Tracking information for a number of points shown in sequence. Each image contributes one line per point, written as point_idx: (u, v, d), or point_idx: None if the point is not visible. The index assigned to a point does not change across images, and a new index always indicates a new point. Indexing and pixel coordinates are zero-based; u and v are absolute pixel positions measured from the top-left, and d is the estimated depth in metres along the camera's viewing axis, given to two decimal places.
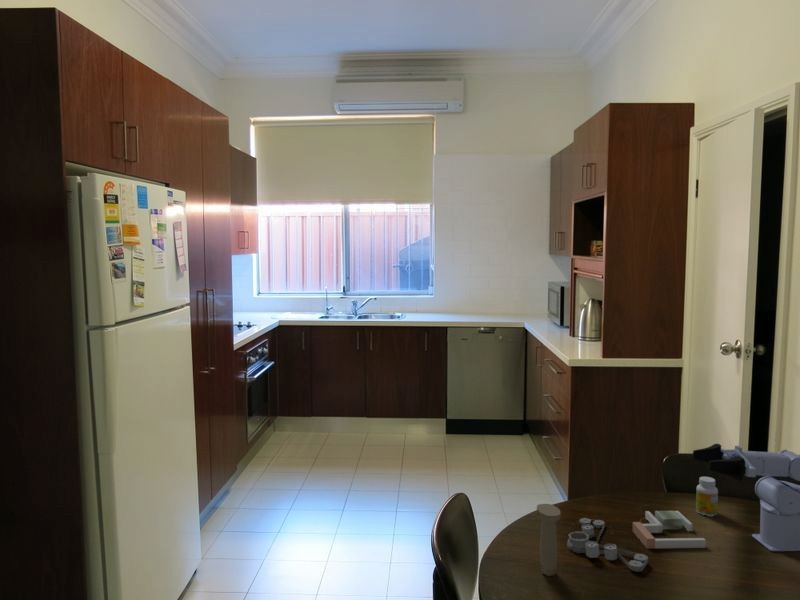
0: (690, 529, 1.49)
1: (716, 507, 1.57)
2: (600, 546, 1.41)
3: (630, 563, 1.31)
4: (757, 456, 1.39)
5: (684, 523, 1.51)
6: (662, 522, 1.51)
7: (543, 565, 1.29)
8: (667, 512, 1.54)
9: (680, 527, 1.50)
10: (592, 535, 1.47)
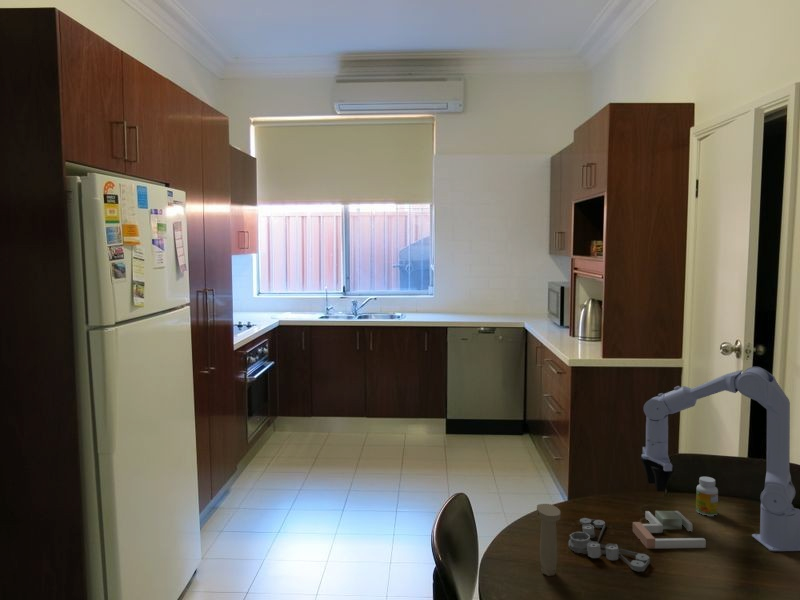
0: (690, 529, 1.49)
1: (716, 507, 1.57)
2: (601, 546, 1.41)
3: (632, 563, 1.31)
4: (651, 445, 1.57)
5: (684, 523, 1.51)
6: (662, 522, 1.51)
7: (543, 565, 1.29)
8: (667, 512, 1.54)
9: (680, 527, 1.50)
10: (593, 535, 1.47)
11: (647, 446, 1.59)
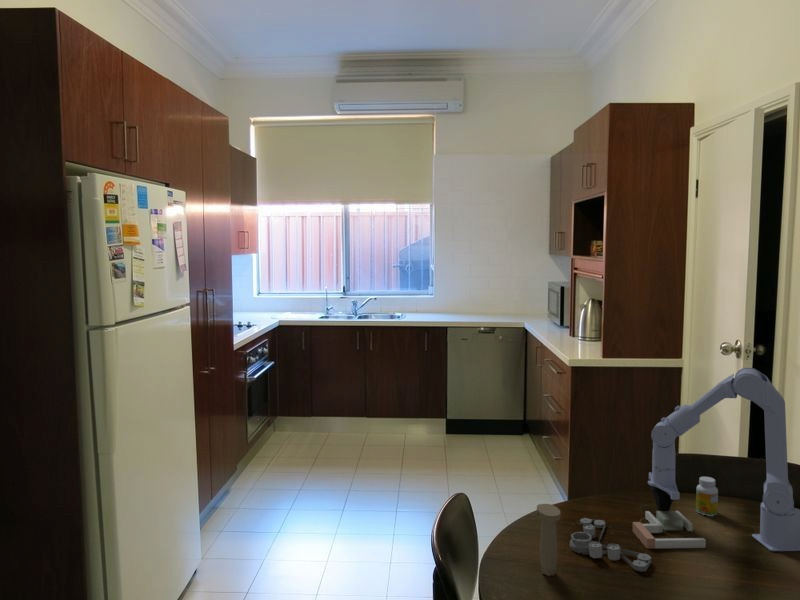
0: (690, 529, 1.49)
1: (716, 507, 1.57)
2: (602, 546, 1.41)
3: (634, 563, 1.31)
4: (658, 472, 1.53)
5: (684, 523, 1.51)
6: (663, 522, 1.50)
7: (543, 565, 1.29)
8: (668, 512, 1.54)
9: (681, 527, 1.50)
10: (594, 535, 1.46)
11: (654, 473, 1.55)
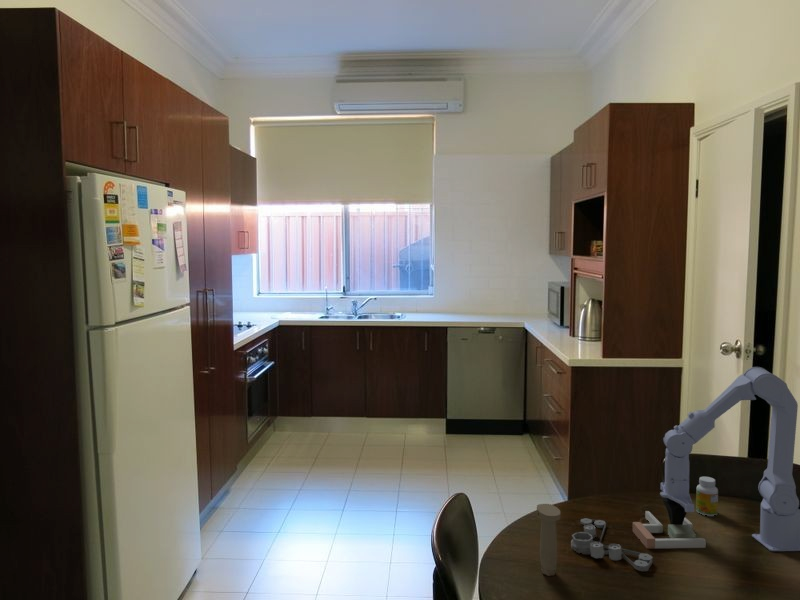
0: None
1: (716, 507, 1.57)
2: (603, 546, 1.41)
3: (635, 563, 1.31)
4: (671, 482, 1.46)
5: (684, 523, 1.51)
6: (674, 536, 1.43)
7: (543, 565, 1.29)
8: (681, 526, 1.46)
9: None
10: (594, 535, 1.46)
11: (666, 484, 1.47)
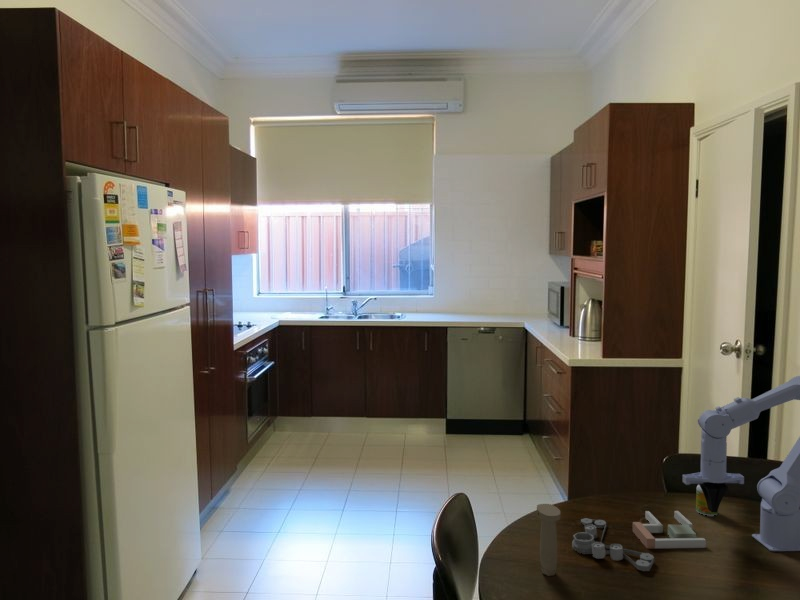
0: None
1: None
2: (605, 546, 1.41)
3: (637, 563, 1.31)
4: None
5: (684, 523, 1.51)
6: (674, 537, 1.43)
7: (543, 565, 1.29)
8: (680, 526, 1.46)
9: None
10: (595, 535, 1.46)
11: None
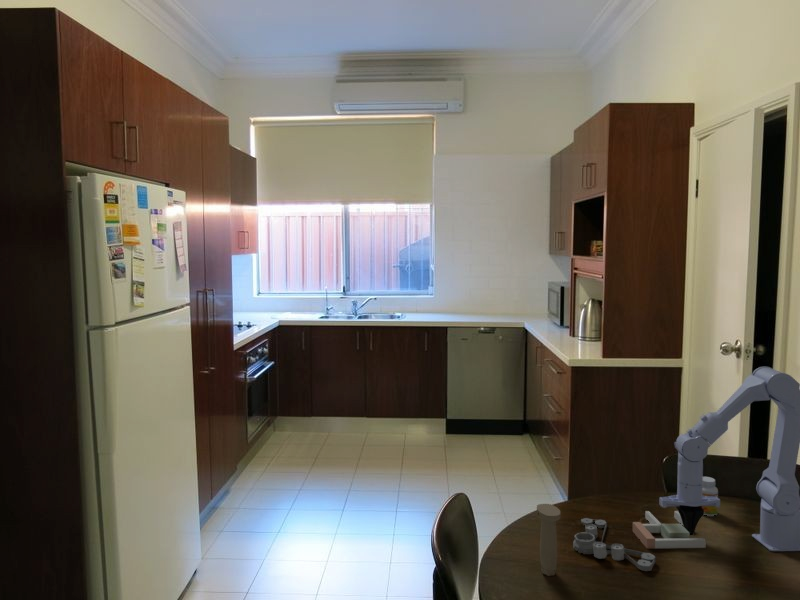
0: None
1: (716, 507, 1.57)
2: (606, 546, 1.41)
3: (639, 563, 1.31)
4: None
5: None
6: (668, 536, 1.43)
7: (543, 565, 1.29)
8: (674, 525, 1.46)
9: None
10: (596, 535, 1.46)
11: None
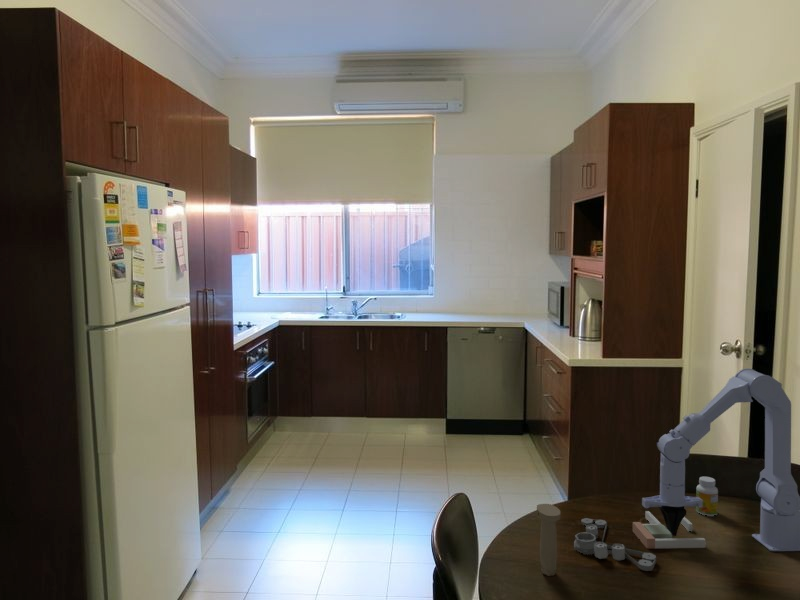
0: (690, 529, 1.49)
1: (716, 507, 1.57)
2: (606, 546, 1.41)
3: (640, 562, 1.31)
4: None
5: (684, 523, 1.51)
6: None
7: (543, 565, 1.29)
8: (656, 526, 1.46)
9: None
10: (596, 535, 1.46)
11: None
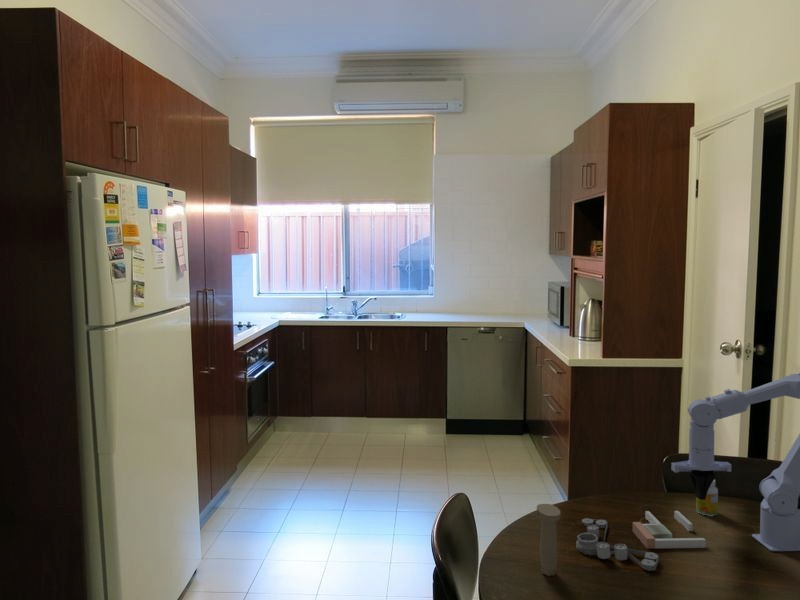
0: (690, 529, 1.49)
1: (716, 507, 1.57)
2: None
3: (643, 562, 1.31)
4: None
5: (684, 523, 1.51)
6: None
7: (543, 565, 1.29)
8: (656, 526, 1.46)
9: None
10: (598, 535, 1.46)
11: None
